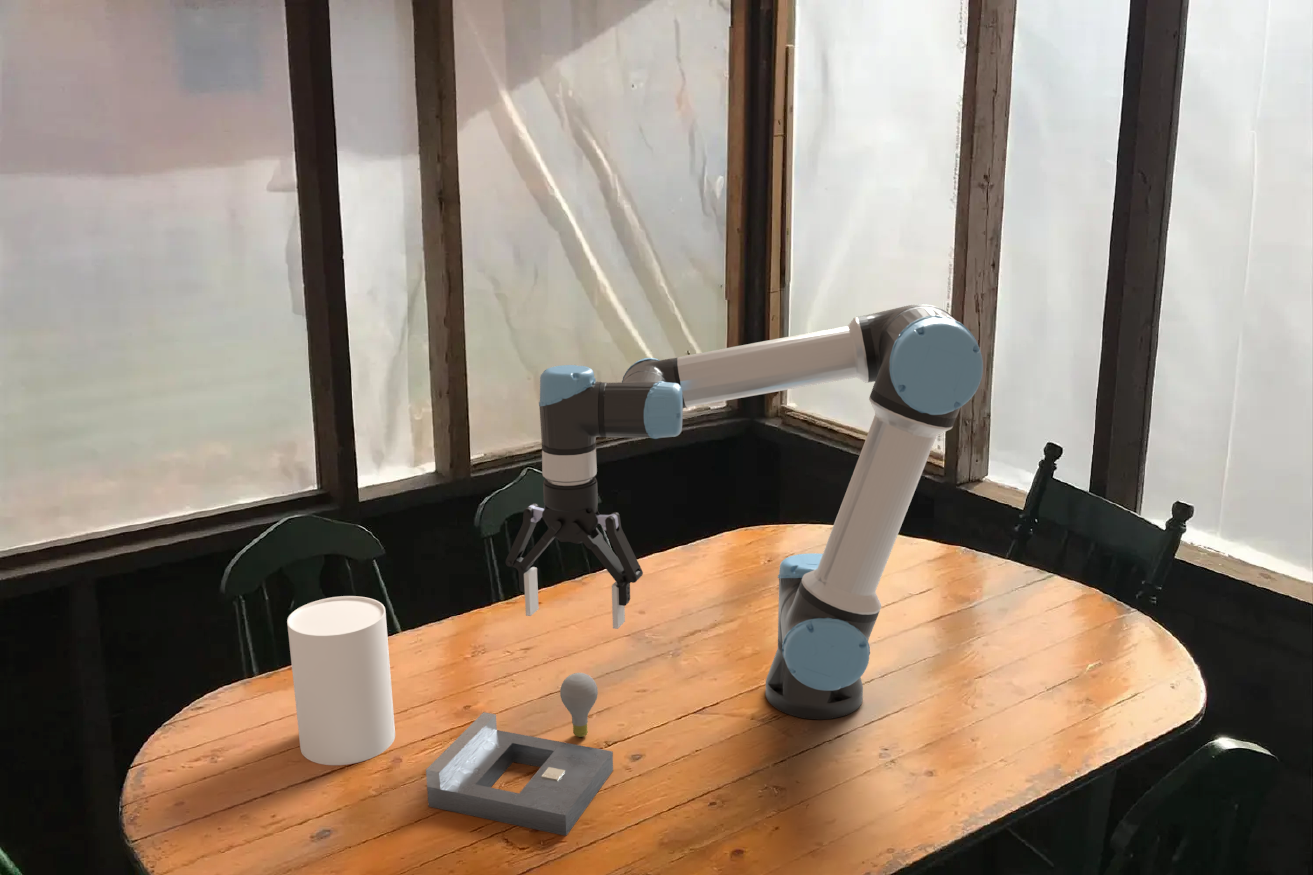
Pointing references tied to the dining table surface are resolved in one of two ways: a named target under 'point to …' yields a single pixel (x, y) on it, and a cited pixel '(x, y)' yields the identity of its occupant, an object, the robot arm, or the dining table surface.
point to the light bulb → (579, 700)
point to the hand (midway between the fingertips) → (575, 618)
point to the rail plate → (546, 797)
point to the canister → (342, 679)
